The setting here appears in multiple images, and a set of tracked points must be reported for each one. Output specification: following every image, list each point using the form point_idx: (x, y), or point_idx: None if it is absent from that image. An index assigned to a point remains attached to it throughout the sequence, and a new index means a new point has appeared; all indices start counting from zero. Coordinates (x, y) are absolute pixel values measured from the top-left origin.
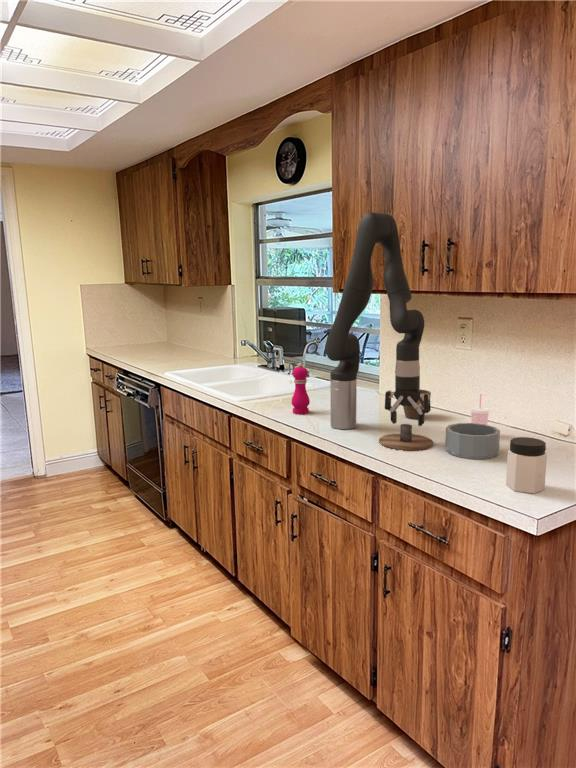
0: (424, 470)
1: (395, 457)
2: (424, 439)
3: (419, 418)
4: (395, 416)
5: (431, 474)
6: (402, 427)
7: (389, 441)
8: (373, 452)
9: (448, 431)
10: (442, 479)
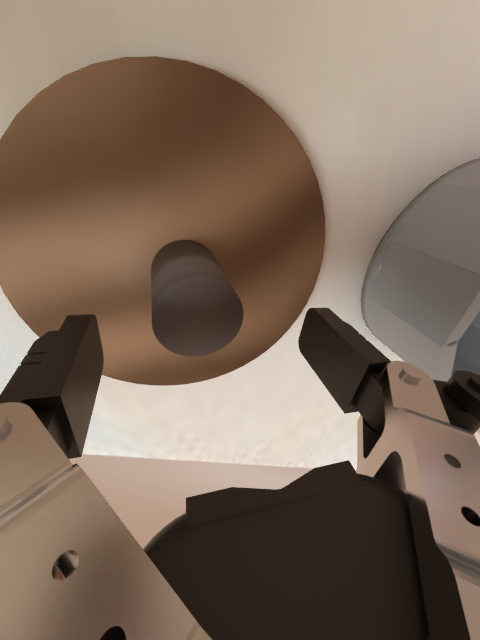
0: (294, 450)
1: (206, 428)
2: (280, 200)
3: (334, 387)
4: (86, 383)
5: (309, 457)
6: (182, 351)
7: (109, 328)
8: (112, 432)
9: (433, 373)
10: (328, 461)
